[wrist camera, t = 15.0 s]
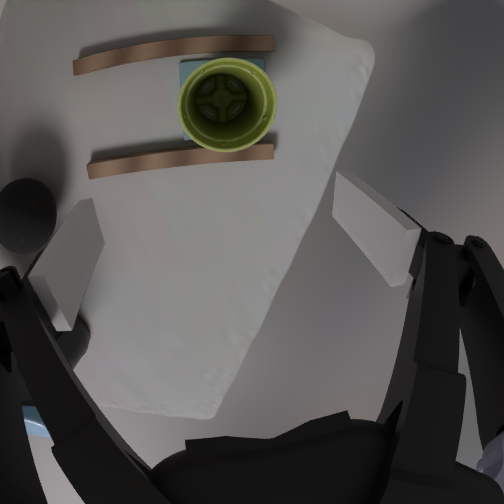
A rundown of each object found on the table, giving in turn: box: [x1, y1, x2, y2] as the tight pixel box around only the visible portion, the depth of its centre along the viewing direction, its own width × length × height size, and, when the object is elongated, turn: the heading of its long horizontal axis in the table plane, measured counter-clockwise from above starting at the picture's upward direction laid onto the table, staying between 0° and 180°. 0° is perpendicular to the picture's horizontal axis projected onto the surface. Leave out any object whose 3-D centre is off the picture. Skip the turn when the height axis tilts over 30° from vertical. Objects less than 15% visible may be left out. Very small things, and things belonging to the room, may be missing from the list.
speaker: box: [0, 178, 57, 254], centre depth 31 cm, size 10×10×10 cm
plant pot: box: [177, 58, 277, 152], centre depth 29 cm, size 9×9×9 cm
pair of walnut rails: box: [73, 35, 274, 179], centre depth 31 cm, size 24×16×2 cm, turn 90°
